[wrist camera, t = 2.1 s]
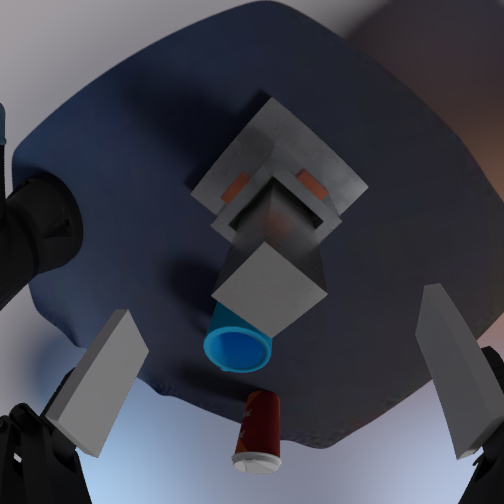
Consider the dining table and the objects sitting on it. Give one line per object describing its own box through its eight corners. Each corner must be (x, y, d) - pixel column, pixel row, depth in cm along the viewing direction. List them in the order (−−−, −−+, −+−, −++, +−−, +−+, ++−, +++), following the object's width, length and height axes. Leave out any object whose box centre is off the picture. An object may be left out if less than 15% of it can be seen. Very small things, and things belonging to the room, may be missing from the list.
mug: (227, 277, 39) (213, 316, 32) (283, 298, 39) (282, 340, 32) (203, 335, 44) (190, 374, 37) (252, 352, 45) (245, 393, 38)
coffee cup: (235, 389, 50) (222, 459, 37) (278, 383, 48) (273, 458, 35) (250, 411, 53) (241, 475, 40) (290, 407, 51) (287, 474, 38)
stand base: (194, 190, 34) (154, 229, 23) (272, 97, 28) (265, 89, 18) (283, 262, 37) (280, 325, 26) (365, 183, 31) (401, 221, 21)
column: (250, 190, 31) (206, 295, 14) (276, 161, 29) (264, 237, 13) (280, 216, 32) (271, 341, 15) (307, 188, 30) (332, 294, 14)
